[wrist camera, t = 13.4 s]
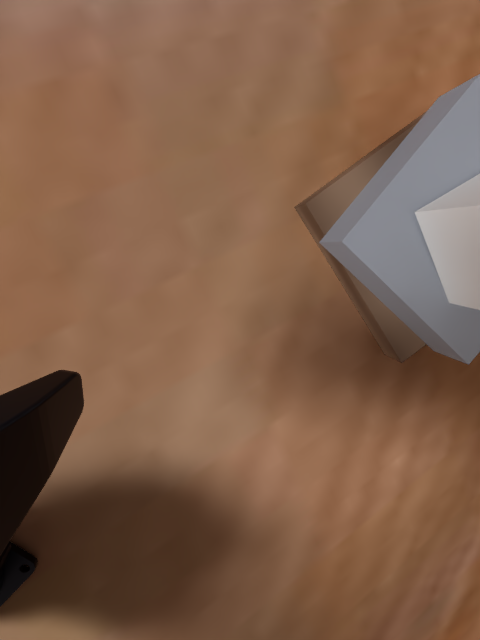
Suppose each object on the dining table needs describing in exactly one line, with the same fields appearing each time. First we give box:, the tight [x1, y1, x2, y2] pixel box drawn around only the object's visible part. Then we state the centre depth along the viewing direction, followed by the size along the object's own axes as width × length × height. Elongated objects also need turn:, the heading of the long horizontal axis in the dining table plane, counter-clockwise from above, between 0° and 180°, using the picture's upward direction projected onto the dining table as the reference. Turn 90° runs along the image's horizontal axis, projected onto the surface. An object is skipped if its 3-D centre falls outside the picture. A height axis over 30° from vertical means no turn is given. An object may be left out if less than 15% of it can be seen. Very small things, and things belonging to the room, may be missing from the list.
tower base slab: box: [294, 111, 427, 363], centre depth 21 cm, size 10×10×2 cm
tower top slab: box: [319, 74, 480, 365], centre depth 18 cm, size 9×9×2 cm
